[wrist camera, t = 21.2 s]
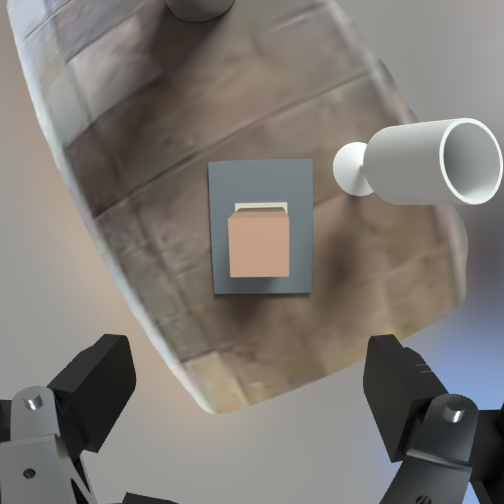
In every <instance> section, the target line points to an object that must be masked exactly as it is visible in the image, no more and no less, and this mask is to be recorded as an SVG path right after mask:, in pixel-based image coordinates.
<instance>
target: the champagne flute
mask: <svg viewBox="0 0 504 504" xmlns="http://www.w3.org/2000/svg"><path fill="white" fill-rule="evenodd" d="M502 172H503V162H502V156H501V151H500V148H499V145H498V143H497V141H496V139H495V137H494V135H493V134H492V132H491V131H490V130H489V129H488V128H487V127H486V126H485V125H483V124H482V123H481V122H479V121H477V120H474V119H470V118H462V119H451V120H441V121H432V122H423V123H415V124H407V125H399V126H392V127H387V128H384V129H382V130H380V131H379V132H377V133H376V134H375V135H374V136H373V137H372V138H371V139H370V141H369V143H368V144H365V143H361V142H355V143H350V144H347V145H345V146H344V147H342V148H341V149H340V150H339V151H338V153H337V154H336V156H335V159H334V162H333V173H334V177H335V180H336V182H337V183H338V185H339V186H340V187H341V188H342V189H343V190H344V191H345V192H347V193H348V194H351V195H354V196H366V195H369V194H371V193H373V192H375V193H376V194H377V195H378V196H379V197H380V198H382V199H383V200H385V201H387V202H389V203H391V204H396V205H433V204H480V203H484V202H486V201H488V200H489V199H490V198H491V197H492V196H493V195H494V194H495V192H496V191H497V189H498V187H499V185H500V182H501V178H502Z"/></svg>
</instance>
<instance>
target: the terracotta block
mask: <svg viewBox="0 0 504 504" xmlns="http://www.w3.org/2000/svg"><path fill="white" fill-rule="evenodd" d="M228 232H229V257H230V277H289V217H288V215H287V213H286V211H273V212H234V213H233V214H232V215H231V216H230V217H229V218H228Z"/></svg>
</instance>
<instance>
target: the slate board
mask: <svg viewBox="0 0 504 504" xmlns="http://www.w3.org/2000/svg"><path fill="white" fill-rule="evenodd" d="M208 171H209V199H210V223H211V243H212V262H213V279H214V294H268V293H312V268H313V175H312V159H271V160H236V161H215V162H208ZM261 207H283V208H284V210H285V211H286V213H287V215H288V217H289V277H230V257H229V232H228V218H229V217H230V216H231V215H232V214H233V213H234V212H236V211H237V210H238V209H239V208H261Z"/></svg>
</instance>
